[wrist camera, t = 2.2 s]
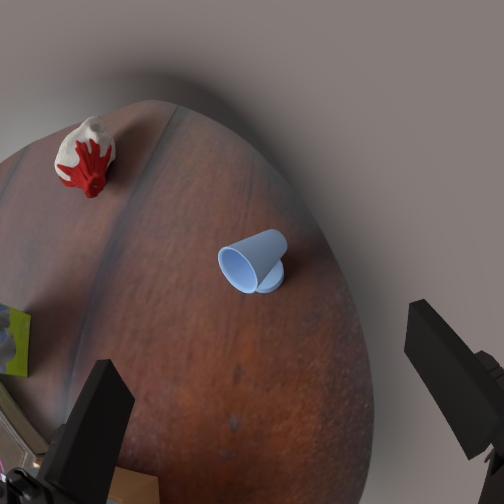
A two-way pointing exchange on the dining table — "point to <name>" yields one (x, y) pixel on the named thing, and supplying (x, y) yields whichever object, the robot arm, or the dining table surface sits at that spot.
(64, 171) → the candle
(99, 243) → the dining table surface
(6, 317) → the box
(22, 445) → the book
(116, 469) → the box stack
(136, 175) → the dining table surface
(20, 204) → the dining table surface
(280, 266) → the spotlight
